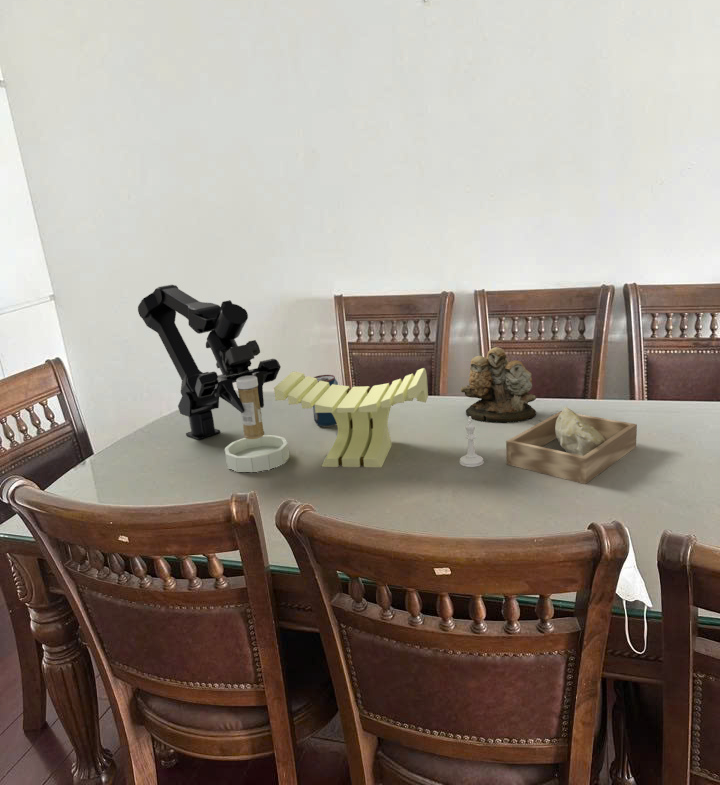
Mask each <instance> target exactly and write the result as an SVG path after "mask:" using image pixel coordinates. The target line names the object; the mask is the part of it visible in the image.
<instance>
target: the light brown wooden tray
mask: <svg viewBox="0 0 720 785" xmlns="http://www.w3.org/2000/svg"><path fill="white" fill-rule="evenodd" d="M562 411H563V410H560V411H558V412H557V413H555V414H553V415H551V416H550V417H547V418H545V419H544V420H542V421H541V422H539V423H537V424H535V425H532V426H530V427H529V428H528V429H526V430H524V431H522V432H521V433H518V434H517V435H515V436H513V437H511V438H510V439H509V438H508V440H506V441H505V446H506V449H505V450H506V451H505V452H506V456H505V457H506V465H509V466H512V467H517V468H520V469H525V470H529V471H533V472H537V473H541V474H544V475H547V476H552V477H555V478H558V479H559V478H560V479H564V480H568V481H572V482H577V483H580V484H583V485H586V484H588V483H589V482H590V481H592V480H594V479H595V478H596V477H597V476H599V475H600V474H601V473H603V472H604V471H606V470H607V469H608V468H610V467H611V466H612V465H614V464H615V463H617V462H618V461H619V460H620V459H622V458H624V456H626V455H627V454H629V453H630V452H631V451H633V450H634V449H636V448H637V435H638V434H637V430H638V429H637V428H638V424H637V423H631V422H626V421H621V420H614V419H610V418H609V419H608V418H604V417H599V416H592V415H586V414H585V415H584V414H581V413H576V414H577V415H578V416H580V418H581V419H582V420H584V421H585V422H586V423H587V424H588V425H589V426H590V427H594V428H595V429H596V430H597V431H598V432H600V433H601V434H602V435H603V437H604V440H605V442H604V443H602V444H601V445H599V446H598V447H596V448H595V449H593V450H592V451H590V452H589V453H587V454H586V455H584V456H580V455H576V454H572V453H567V452H566V451H562V450H557V449H552V448H548V447H544V446H546V445H548V444H549V443H551V442H552V441H553V440H556V439H558V438H557V437H556V432H555V425H556V420H557V418H558V416H559V415H560V413H561V412H562Z"/></svg>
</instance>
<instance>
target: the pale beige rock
mask: <svg viewBox="0 0 720 785" xmlns="http://www.w3.org/2000/svg"><path fill="white" fill-rule="evenodd" d="M561 411H562V412H561V413H560V415H559V416H558V418H557V420H556V425H555V432H556V437H557V438H556V439H557V440H558V443H559V445H560V446H561V448H562V449H563V450H564V452H567V453H571V454H576V455H580V456H584V455H586V454H587V453H589V452H590V451H592V450H593V449H595V448H596V447H598V446H599V445H601V444H602V443H604V442H605V440H604V437H603V435H602V434H601V433H600V432H598V431H597V430H596V429H595V428H594V427H590V426H589V425H588V424H587V423H586V422H585V421H584V420H582V419H581V418H580V416H578V415H577V414H578V413H576V412H575V411H573V410H572V409H571V408H569V407H567V406H566V407H564V408H563V410H561Z"/></svg>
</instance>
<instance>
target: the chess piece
mask: <svg viewBox="0 0 720 785" xmlns="http://www.w3.org/2000/svg"><path fill="white" fill-rule="evenodd" d="M472 420H473V419H472V418H471V416H469V417H468V419H467V423H468V424H466V425H465V430H466V433H467V434H466V435H465V436H464V437H465V439H466V440H467V452H466V454H465V455H463V456H461V457H460V458H459V465H460V466H463V467H467V468H475V467H477V468H478V467H480V466H482V465H483V464H484V463H485V461H484V458H483V457H482V456H481V455H478V454H477V453H476V451H475V450H476V449H475V445H474V440H475V439H476V435H475V434H474V433H475V429H476V425H475V424H474V423H472V422H473V421H472Z"/></svg>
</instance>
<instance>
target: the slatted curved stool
mask: <svg viewBox="0 0 720 785" xmlns="http://www.w3.org/2000/svg"><path fill="white" fill-rule="evenodd" d="M313 377H314V376H309V375H307V376H306V375H305V373H304V372H301V371H292V372H290V373H289V374H288V375H287V376H286V377H285V378H283V380H281V381H280V382H278V383H277V385H275V386H274V387H273V390H274V391H273V392H274V397H275V401H278V402H279V401H285V400H286V399H287V400H288V405H294V406H295V405H299V404H301V409H302V410H304V409H306V410H307V409H309V410H311V409H313V406H314V405H315V413H332V415H333V416H334V418H335V420H336V423H337V435H336V438H335V441H334V443H333V445H332V446H331V448H330V451H328V453H327V454H326V456H325V458H324V461H323V463H322V465H321V466H322V468H338V467H339V466H342V468H361V466H363V467H364V468H383V465H384V463H385V461H386V458H387V457H388V455H389V452H390V450H391V447H392V438H391V436H390V432H389V426H388V425H389V415H390V412H391V409H392V406H394V405H396V404H404V403H405V402H413V401H414V399H416V401H417V402H421V403H427V400H428V398H429V393H428V392H429V389H428V376H427V370H426V368H425V367H422V368H420V369H417V370H416V372H415V374H414V373H411V374H410V373H409V374H407V375H405V376H404V378H403V379H402V378H399V379H398V378H397V379H395V380H392V382H391V384H390V382H388V383H383V384H382V383H381V384H375V385H373V386H372V387H370V385H369V386H368V385H366V386H352V387H351V388H350V386H349V385H342V384H341V385H340V384H338V385H334V384H332V385H331V386H330V385H329V382H325V381H319V382H317V378H313Z"/></svg>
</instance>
